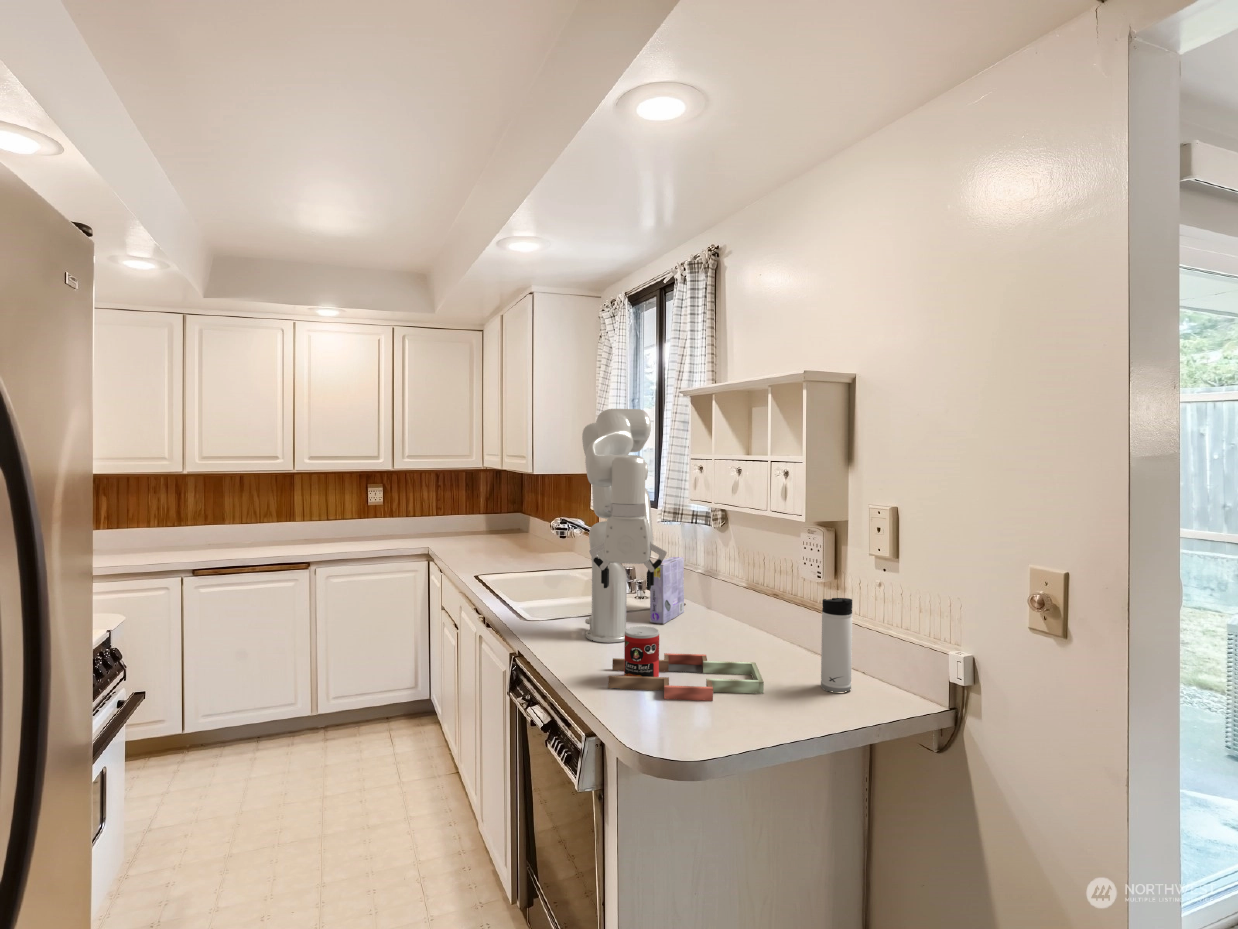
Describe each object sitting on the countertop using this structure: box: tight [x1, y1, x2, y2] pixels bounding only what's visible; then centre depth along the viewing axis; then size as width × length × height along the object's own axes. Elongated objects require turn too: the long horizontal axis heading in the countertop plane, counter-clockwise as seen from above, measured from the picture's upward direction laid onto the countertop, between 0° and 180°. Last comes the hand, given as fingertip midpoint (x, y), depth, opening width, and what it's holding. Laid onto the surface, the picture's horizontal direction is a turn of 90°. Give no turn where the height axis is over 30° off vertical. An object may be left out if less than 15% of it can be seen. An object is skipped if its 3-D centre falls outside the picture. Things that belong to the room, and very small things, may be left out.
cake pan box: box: [649, 556, 685, 625], centre depth 207 cm, size 19×5×18 cm, turn 155°
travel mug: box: [820, 597, 853, 692], centre depth 146 cm, size 6×7×20 cm
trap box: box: [607, 652, 765, 702], centre depth 151 cm, size 33×23×2 cm
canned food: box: [623, 625, 660, 677], centre depth 151 cm, size 8×8×11 cm
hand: (627, 588), depth 151 cm, fingers open, 9 cm apart
